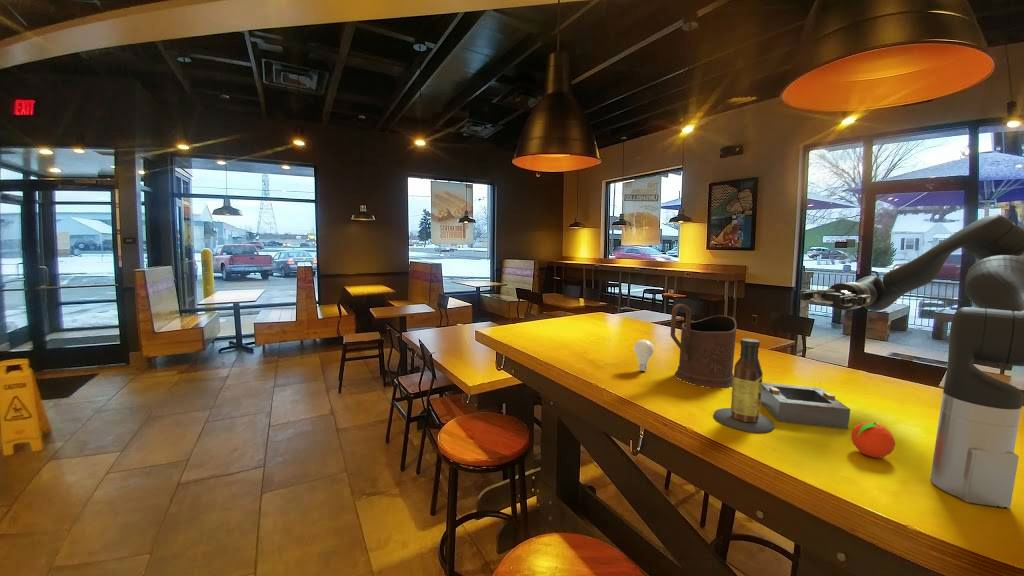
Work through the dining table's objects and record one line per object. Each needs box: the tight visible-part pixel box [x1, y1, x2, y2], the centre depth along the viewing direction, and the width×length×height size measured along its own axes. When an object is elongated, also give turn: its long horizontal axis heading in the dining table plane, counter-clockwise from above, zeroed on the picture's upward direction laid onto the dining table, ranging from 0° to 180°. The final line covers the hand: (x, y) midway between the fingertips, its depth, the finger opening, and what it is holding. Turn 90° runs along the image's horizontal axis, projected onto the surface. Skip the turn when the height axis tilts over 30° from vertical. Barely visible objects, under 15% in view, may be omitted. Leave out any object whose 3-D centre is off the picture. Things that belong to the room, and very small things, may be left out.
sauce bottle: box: [730, 338, 764, 423], centre depth 101 cm, size 7×6×20 cm
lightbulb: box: [633, 339, 655, 372], centre depth 140 cm, size 6×6×11 cm
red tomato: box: [850, 421, 896, 458], centre depth 86 cm, size 8×7×7 cm
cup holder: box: [670, 303, 738, 389], centre depth 132 cm, size 18×24×25 cm
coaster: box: [713, 407, 775, 434], centre depth 102 cm, size 13×13×1 cm
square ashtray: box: [760, 382, 851, 430], centre depth 108 cm, size 15×15×6 cm
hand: (820, 298), depth 107 cm, fingers open, 8 cm apart
